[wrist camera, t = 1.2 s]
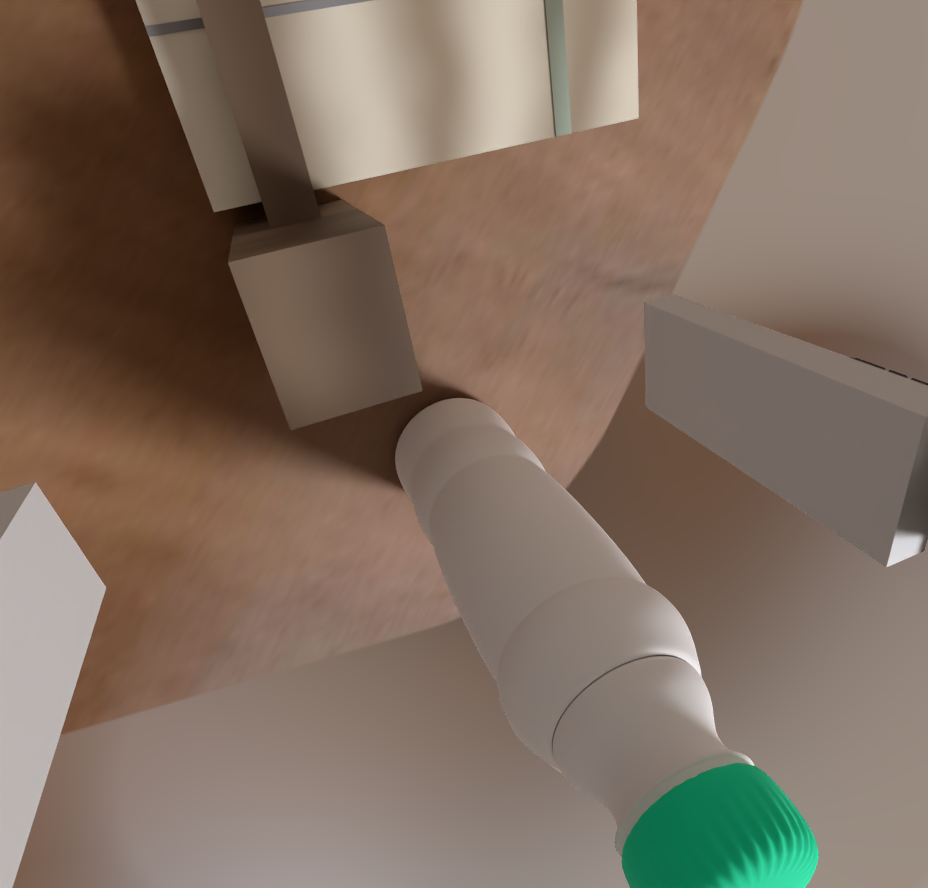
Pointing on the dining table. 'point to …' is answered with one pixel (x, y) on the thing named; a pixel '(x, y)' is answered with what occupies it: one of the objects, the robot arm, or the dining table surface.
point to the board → (404, 81)
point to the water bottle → (593, 662)
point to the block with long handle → (305, 250)
